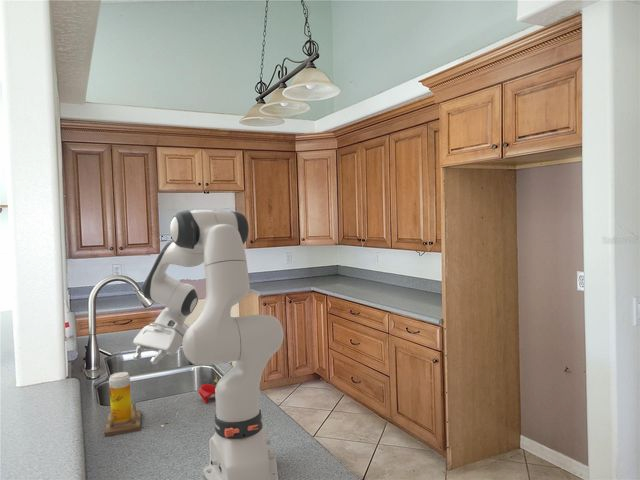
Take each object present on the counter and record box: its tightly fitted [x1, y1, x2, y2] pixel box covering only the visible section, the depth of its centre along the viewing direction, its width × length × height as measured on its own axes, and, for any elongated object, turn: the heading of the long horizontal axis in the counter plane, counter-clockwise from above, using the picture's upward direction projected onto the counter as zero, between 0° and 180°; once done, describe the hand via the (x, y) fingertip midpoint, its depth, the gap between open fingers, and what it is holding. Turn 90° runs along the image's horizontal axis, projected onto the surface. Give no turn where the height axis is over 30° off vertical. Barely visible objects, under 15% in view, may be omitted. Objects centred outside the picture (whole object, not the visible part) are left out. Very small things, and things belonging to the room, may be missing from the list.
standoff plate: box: [104, 402, 142, 437], centre depth 151 cm, size 14×10×5 cm
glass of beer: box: [108, 371, 132, 424], centre depth 151 cm, size 6×6×15 cm
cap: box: [197, 383, 216, 404], centre depth 169 cm, size 8×6×6 cm
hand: (144, 361), depth 157 cm, fingers open, 8 cm apart
